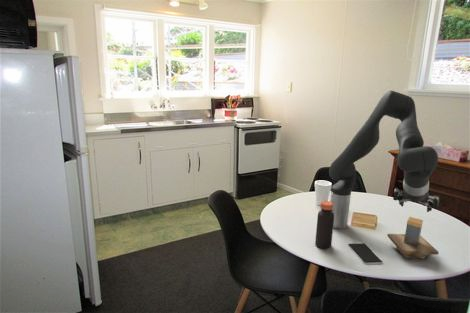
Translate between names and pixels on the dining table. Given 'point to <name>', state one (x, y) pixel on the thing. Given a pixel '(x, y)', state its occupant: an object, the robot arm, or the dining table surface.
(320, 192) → the foam cup
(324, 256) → the dining table surface
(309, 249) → the dining table surface
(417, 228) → the block
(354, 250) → the smartphone
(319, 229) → the bottle
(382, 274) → the dining table surface
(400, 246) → the stand
